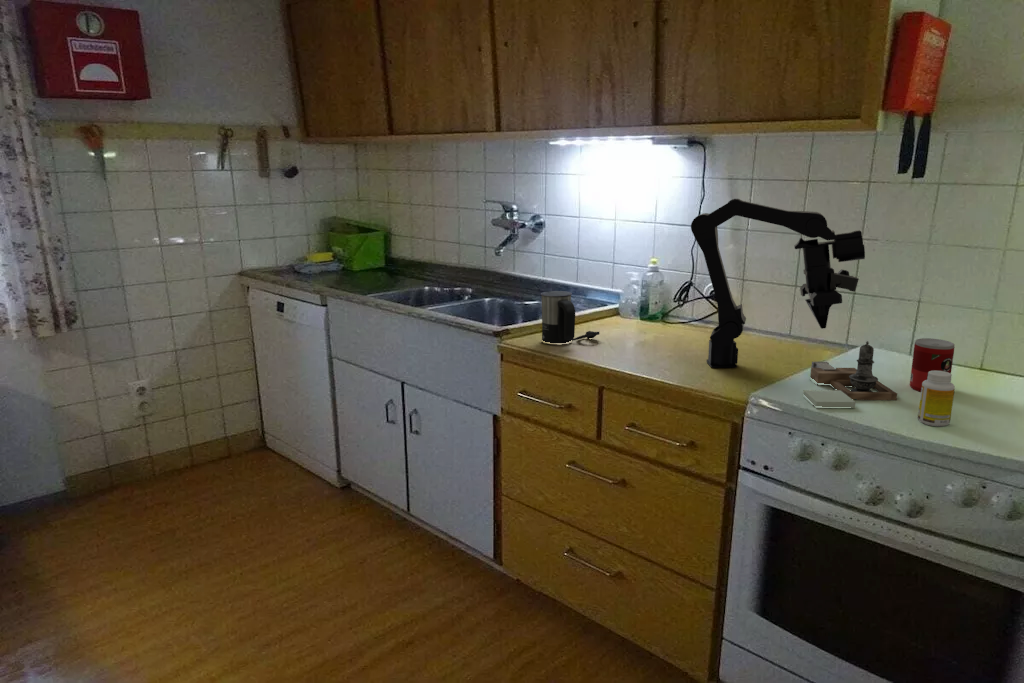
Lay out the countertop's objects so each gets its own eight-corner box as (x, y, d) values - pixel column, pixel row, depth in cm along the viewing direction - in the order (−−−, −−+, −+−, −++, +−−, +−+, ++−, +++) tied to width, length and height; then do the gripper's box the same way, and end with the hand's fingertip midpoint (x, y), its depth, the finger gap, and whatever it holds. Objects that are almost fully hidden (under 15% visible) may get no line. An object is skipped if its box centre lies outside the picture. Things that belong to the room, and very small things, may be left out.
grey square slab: (815, 408, 150) (816, 401, 149) (802, 396, 157) (803, 390, 157) (854, 408, 149) (855, 401, 149) (839, 396, 157) (840, 390, 156)
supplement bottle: (956, 427, 138) (963, 376, 136) (928, 427, 138) (935, 377, 135) (937, 417, 143) (944, 368, 141) (911, 418, 143) (917, 369, 141)
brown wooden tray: (834, 399, 155) (835, 386, 154) (810, 379, 170) (811, 367, 169) (896, 400, 154) (898, 387, 153) (866, 379, 169) (868, 367, 168)
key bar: (821, 380, 168) (822, 369, 168) (810, 372, 175) (811, 361, 174) (836, 380, 168) (837, 369, 167) (825, 372, 175) (826, 361, 174)
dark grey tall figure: (870, 389, 162) (876, 338, 159) (880, 397, 156) (887, 344, 153) (843, 388, 163) (848, 337, 160) (853, 396, 157) (858, 344, 154)
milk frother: (534, 342, 210) (533, 293, 207) (571, 333, 220) (571, 286, 217) (569, 350, 200) (569, 299, 196) (605, 341, 210) (606, 292, 207)
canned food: (929, 396, 157) (936, 347, 154) (901, 385, 164) (906, 339, 161) (957, 392, 159) (963, 344, 156) (927, 382, 166) (933, 336, 163)
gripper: (863, 264, 159) (869, 331, 162) (844, 255, 177) (849, 316, 180) (810, 271, 162) (817, 337, 165) (797, 262, 179) (803, 322, 182)
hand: (823, 328), depth 173 cm, fingers closed
